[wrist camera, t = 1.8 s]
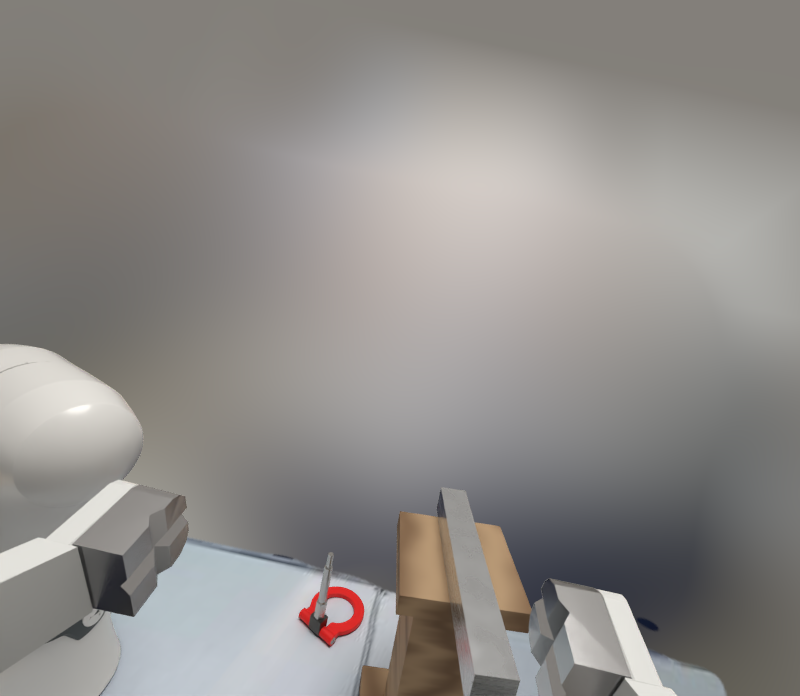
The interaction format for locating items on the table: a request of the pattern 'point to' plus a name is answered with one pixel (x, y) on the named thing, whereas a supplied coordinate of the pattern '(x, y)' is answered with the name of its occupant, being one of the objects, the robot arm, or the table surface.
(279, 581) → the table surface
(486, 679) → the metal block
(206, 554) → the table surface
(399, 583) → the walnut stand
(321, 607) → the tow hook
